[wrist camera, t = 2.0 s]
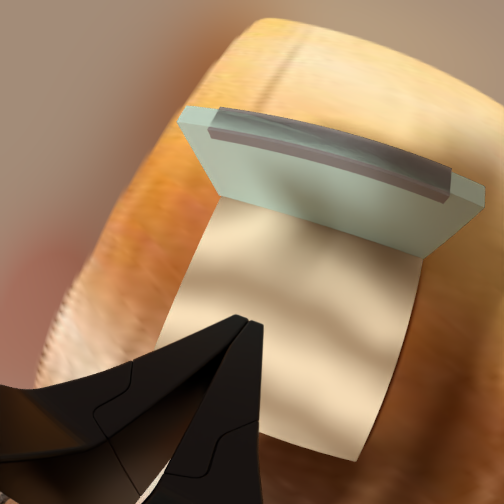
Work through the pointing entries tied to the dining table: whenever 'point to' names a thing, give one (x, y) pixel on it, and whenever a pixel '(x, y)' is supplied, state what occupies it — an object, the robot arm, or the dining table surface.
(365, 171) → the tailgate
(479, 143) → the dining table surface
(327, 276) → the beige flat square pad
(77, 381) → the robot arm
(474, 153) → the dining table surface
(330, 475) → the dining table surface
